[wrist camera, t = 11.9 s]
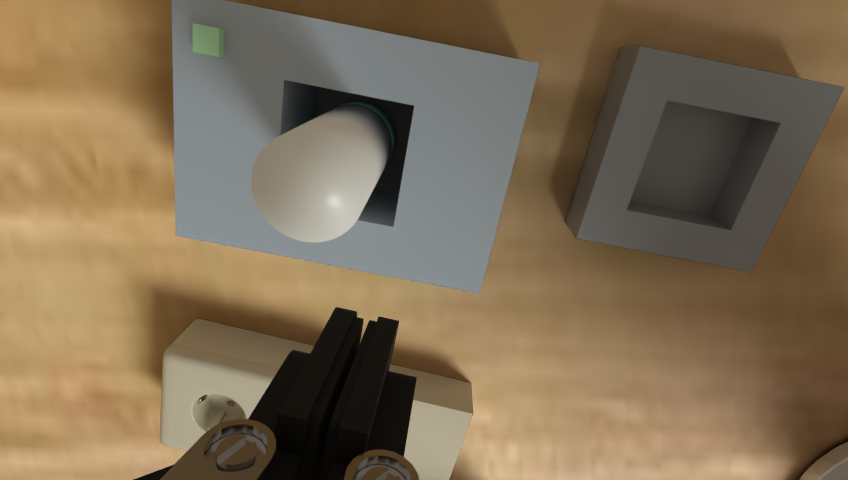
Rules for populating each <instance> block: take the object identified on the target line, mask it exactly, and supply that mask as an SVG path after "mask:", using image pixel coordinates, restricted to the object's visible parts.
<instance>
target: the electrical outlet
mask: <svg viewBox="0 0 848 480" xmlns="http://www.w3.org/2000/svg"><path fill="white" fill-rule="evenodd" d="M313 348H314V346H312V345H308V344H304V343H300V342H296V341H291V340H287V339H283V338H279V337H274V336H270V335H266V334H262V333H257V332H253V331H249V330H245V329H241V328H236V327H232V326H228V325H224V324H219V323H215V322H211V321H207V320H202V319H195V320H194V321H193V322H192V323H191V324H190V325H189V326H188V327H187V328H186V329H185V330H184V331H183V332H182V334H181V335H180V336H179V337H178V338H177V339H176V340H175V341H174V342H173V343H172V344H171V345H170V346H169V347H168V348H167V349H166V350H165V352H164V355H163V367H162V394H161V420H160V442H161V443H162V444H163V445H165V446H168V447H172V448H177V449H181V450H185V451H188V450H189V449H190V448H191V447H192V446H193V445H194V444H195V443H196V442H197V441H198V439H199V438H200V437H201V436H202V435H203V434H205V433H206V432H207V431H208V430H210V429H211V428H212V427H214V426H216V425H218V424H220V423H222V422H225V421H230V420H234V419H248V418H249V417H250V415H251V413H252V412H253V410H254V409H255V407H256V405H257V404H258V402H259V401H260V399H261V397H262V396H263V394H264V393H265V391H266V389H267V388H268V386H269V385H270V383H271V381H272V380H273V378H274V377H275V375H276V373H277V372H278V370H279V369H280V367H281V365H282V364H283V362H284V361H285V359H286V357H287V356H288V354H289V353H290V352H291V351H292V350H297V351H301V352H306V353H311V351H312V350H313ZM389 371H391V372H396V373H400V374H405V375H409V376H414V377H417V380H416V386H415V392H414V398H413V404H412V410H411V416H410V422H409V428H408V435H407V441H406V447H405V453H404V457H405V458H406V459H407V460H408V461H409V462H410V463H411V464H412V465H413V466H414V468H415V470H416V471H417V473H418V477H419V480H449V479H450V476H451V473H452V471H453V468H454V465H455V462H456V460H457V457H458V454H459V451H460V449H461V446H462V443H463V440H464V438H465V435H466V432H467V430H468V427H469V424H470V421H471V419H472V416H473V403H472V387H471V383H469V382H465V381H460V380H456V379H452V378H448V377H444V376H439V375H435V374H431V373H427V372H422V371H418V370H414V369H410V368H405V367H401V366H397V365H393V364H390V368H389Z"/></svg>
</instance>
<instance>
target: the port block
mask: <svg viewBox="0 0 848 480" xmlns="http://www.w3.org/2000/svg"><path fill="white" fill-rule="evenodd" d="M171 1H172V55H173V109H174V163H175V217H176V236H180V237H185V238H190V239H196V240H201V241H206V242H211V243H217V244H222V245H227V246H232V247H238V248H243V249H248V250H253V251H258V252H264V253H269V254H274V255H279V256H285V257H290V258H295V259H300V260H306V261H311V262H316V263H321V264H327V265H332V266H337V267H342V268H348V269H353V270H358V271H363V272H368V273H374V274H379V275H384V276H389V277H395V278H400V279H405V280H410V281H416V282H421V283H426V284H431V285H437V286H442V287H447V288H452V289H458V290H463V291H468V292H473V293H479V294H480V291H481V288H482V284H483V280H484V276H485V272H486V269H487V265H488V261H489V257H490V253H491V250H492V246H493V242H494V238H495V234H496V230H497V227H498V223H499V219H500V215H501V211H502V208H503V204H504V200H505V196H506V192H507V189H508V185H509V181H510V177H511V173H512V169H513V166H514V162H515V158H516V154H517V150H518V147H519V143H520V139H521V135H522V131H523V127H524V124H525V120H526V116H527V112H528V108H529V105H530V101H531V97H532V93H533V89H534V86H535V82H536V78H537V74H538V70H539V66H540V63H535V62H530V61H525V60H520V59H515V58H510V57H505V56H500V55H495V54H490V53H485V52H480V51H475V50H470V49H465V48H460V47H455V46H450V45H446V44H441V43H436V42H431V41H426V40H421V39H416V38H411V37H406V36H401V35H396V34H391V33H386V32H381V31H376V30H371V29H366V28H361V27H356V26H351V25H346V24H341V23H336V22H331V21H326V20H321V19H316V18H311V17H306V16H301V15H296V14H291V13H286V12H281V11H276V10H271V9H266V8H261V7H256V6H251V5H246V4H241V3H236V2H231V1H226V0H171ZM353 100H366V101H370V102H373V103H375V104H377V105H379V106H380V107H381V108H383V109H384V110H385V111H386V112H387V113H388V115H389V116H390V118H391V119H392V121H393V123H394V126H395V130H396V144H395V148H394V151H393V153H392V155H391V157H390V159H389V161H388V163H387V165H386V166H385V168H384V170H383V172H382V174H381V176H380V178H379V180H378V182H377V184H376V186H375V188H374V189H373V191H372V193H371V195H370V197H369V199H368V201H367V203H366V205H365V207H364V209H363V211H362V213H361V214H360V216H359V218H358V220H357V221H356V223H355V224H354V225H353V226H352V227H351V228H350V229H349V230H348V231H347V232H346V233H344V234H343V235H341V236H339V237H337V238H335V239H332V240H329V241H325V242H303V241H299V240H295V239H293V238H290V237H288V236H286V235H284V234H282V233H281V232H279V231H278V230H276V229H275V228H274V227H273V226H271V225H270V224H269V223H268V221H267V220H266V219H265V218H264V217H263V215H262V214H261V212H260V211H259V209H258V207H257V205H256V203H255V200H254V197H253V194H252V188H251V175H252V169H253V165H254V163H255V160H256V158H257V156H258V155H259V153H260V151H261V150H262V149H263V148H264V147H265V146H266V145H267V144H268V143H269V142H270V141H272V140H273V139H275V138H276V137H278V136H280V135H282V134H284V133H286V132H288V131H290V130H292V129H294V128H296V127H298V126H300V125H302V124H304V123H306V122H308V121H310V120H312V119H314V118H316V117H318V116H320V115H322V114H324V113H326V112H328V111H330V110H332V109H334V108H336V107H338V106H340V105H342V104H344V103H346V102H349V101H353Z"/></svg>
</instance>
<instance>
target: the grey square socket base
mask: <svg viewBox="0 0 848 480" xmlns="http://www.w3.org/2000/svg"><path fill="white" fill-rule="evenodd" d="M843 89H844V87H841V86H836V85H831V84H826V83H821V82H816V81H811V80H806V79H801V78H796V77H791V76H787V75H782V74H777V73H772V72H767V71H762V70H757V69H752V68H747V67H742V66H737V65H732V64H727V63H722V62H717V61H712V60H707V59H703V58H698V57H693V56H688V55H683V54H678V53H673V52H668V51H663V50H658V49H653V48H648V47H643V46H629V47H621V48H620V51H619V54H618V57H617V60H616V63H615V66H614V70H613V73H612V76H611V79H610V82H609V85H608V88H607V91H606V95H605V98H604V101H603V104H602V107H601V110H600V113H599V117H598V120H597V123H596V126H595V129H594V132H593V135H592V138H591V142H590V145H589V148H588V151H587V154H586V157H585V160H584V163H583V167H582V170H581V173H580V176H579V179H578V182H577V185H576V188H575V192H574V195H573V198H572V201H571V204H570V207H569V210H568V214H567V217H566V220H565V223H566V224H567V226H568V227H569V228H570V230H571V231H572V233H573V234H574V236H575V237H576V238H577V239H582V240H587V241H592V242H597V243H602V244H608V245H613V246H618V247H623V248H628V249H633V250H638V251H644V252H649V253H654V254H659V255H664V256H669V257H675V258H680V259H685V260H690V261H695V262H700V263H706V264H711V265H716V266H721V267H726V268H731V269H736V270H742V271H747V272H752V270H753V268H754V266H755V264H756V262H757V260H758V258H759V256H760V254H761V252H762V250H763V248H764V246H765V244H766V242H767V240H768V238H769V236H770V234H771V232H772V230H773V228H774V226H775V224H776V222H777V220H778V218H779V216H780V214H781V212H782V210H783V208H784V206H785V204H786V202H787V200H788V198H789V196H790V194H791V193H792V191H793V189H794V187H795V185H796V183H797V181H798V179H799V177H800V175H801V173H802V171H803V169H804V167H805V165H806V163H807V161H808V159H809V157H810V155H811V153H812V151H813V149H814V147H815V145H816V143H817V141H818V139H819V137H820V135H821V133H822V131H823V129H824V127H825V125H826V123H827V121H828V119H829V117H830V115H831V113H832V111H833V109H834V107H835V105H836V103H837V101H838V99H839V97H840V95H841V93H842V91H843Z"/></svg>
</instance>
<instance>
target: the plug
mask: <svg viewBox="0 0 848 480" xmlns="http://www.w3.org/2000/svg"><path fill="white" fill-rule="evenodd" d="M395 144H396V130H395V126H394V123H393V121H392V119H391V118H390V116H389V115H388V113H387V112H386V111H385V110H384V109H383V108H381V107H380V106H379V105H377V104H375V103H373V102H370V101H366V100H353V101H349V102H346V103H344V104H342V105H340V106H338V107H336V108H334V109H332V110H330V111H328V112H326V113H324V114H322V115H320V116H318V117H316V118H314V119H312V120H310V121H308V122H306V123H304V124H302V125H300V126H298V127H296V128H294V129H292V130H290V131H288V132H286V133H284V134H282V135H280V136H278V137H276V138H275V139H273V140H272V141H270V142H269V143H268V144H267V145H266V146H265V147H264V148H263V149H262V150H261V151H260V153H259V155H258V156H257V158H256V160H255V163H254V165H253V169H252V175H251V188H252V194H253V197H254V200H255V203H256V205H257V207H258V209H259V211H260V212H261V214H262V215H263V217H264V218H265V219H266V220H267V221H268V223H269V224H270V225H271V226H273V227H274V228H275V229H276V230H278V231H279V232H281V233H282V234H284V235H286V236H288V237H290V238H293V239H295V240H299V241H303V242H325V241H329V240H332V239H335V238H337V237H339V236H341V235H343V234H344V233H346V232H347V231H348V230H349V229H350V228H351V227H352V226H353V225H354V224H355V223H356V221H357V220H358V218H359V216H360V214H361V213H362V211H363V209H364V207H365V205H366V203H367V201H368V199H369V197H370V195H371V193H372V191H373V189H374V188H375V186H376V184H377V182H378V180H379V178H380V176H381V174H382V172H383V170H384V168H385V166H386V165H387V163H388V161H389V159H390V157H391V155H392V153H393V151H394V148H395Z"/></svg>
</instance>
